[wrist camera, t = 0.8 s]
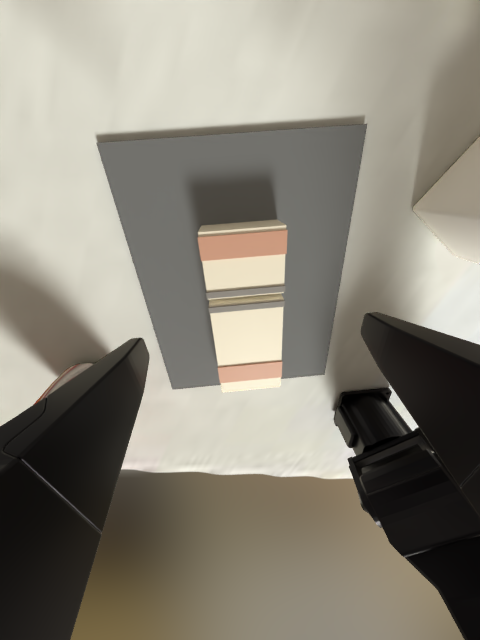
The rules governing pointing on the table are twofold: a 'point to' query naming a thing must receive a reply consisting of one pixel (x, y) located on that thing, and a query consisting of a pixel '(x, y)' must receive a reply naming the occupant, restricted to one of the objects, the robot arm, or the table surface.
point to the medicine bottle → (456, 206)
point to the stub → (243, 258)
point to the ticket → (248, 341)
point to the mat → (233, 207)
